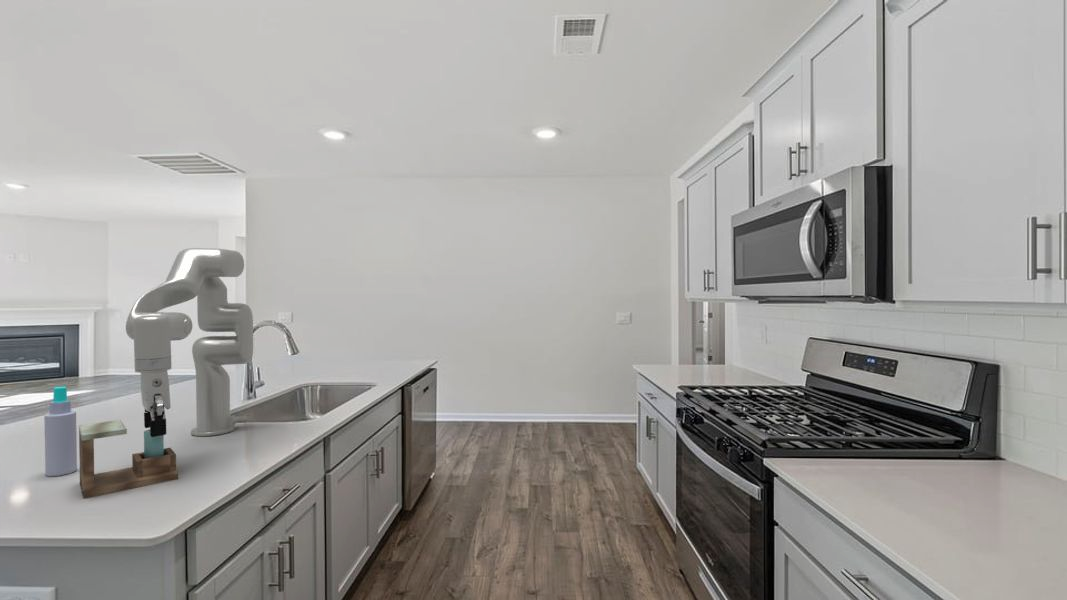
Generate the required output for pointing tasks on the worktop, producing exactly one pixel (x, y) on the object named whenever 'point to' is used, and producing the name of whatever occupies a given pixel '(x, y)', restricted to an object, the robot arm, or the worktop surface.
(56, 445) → the spray bottle
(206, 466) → the worktop surface
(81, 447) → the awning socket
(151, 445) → the peg
